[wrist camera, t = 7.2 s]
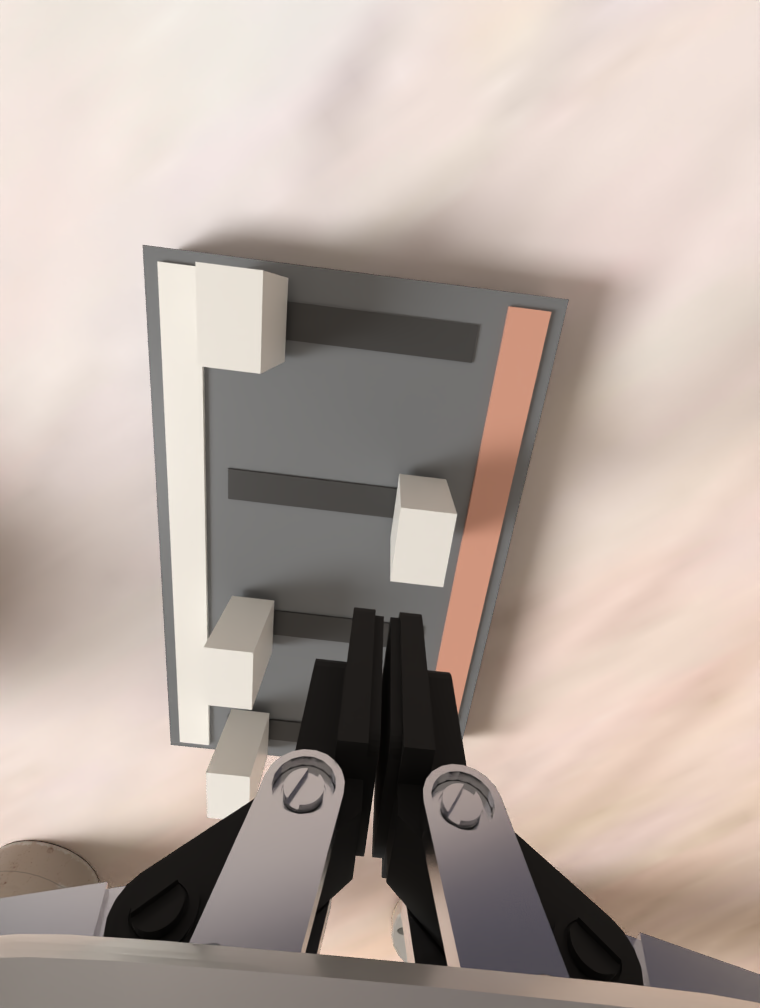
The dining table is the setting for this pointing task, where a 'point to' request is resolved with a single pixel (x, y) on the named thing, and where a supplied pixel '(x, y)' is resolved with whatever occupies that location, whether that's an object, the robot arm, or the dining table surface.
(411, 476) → the block
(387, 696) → the robot arm
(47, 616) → the dining table surface
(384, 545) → the grey slider switch panel
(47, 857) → the thermos bottle
